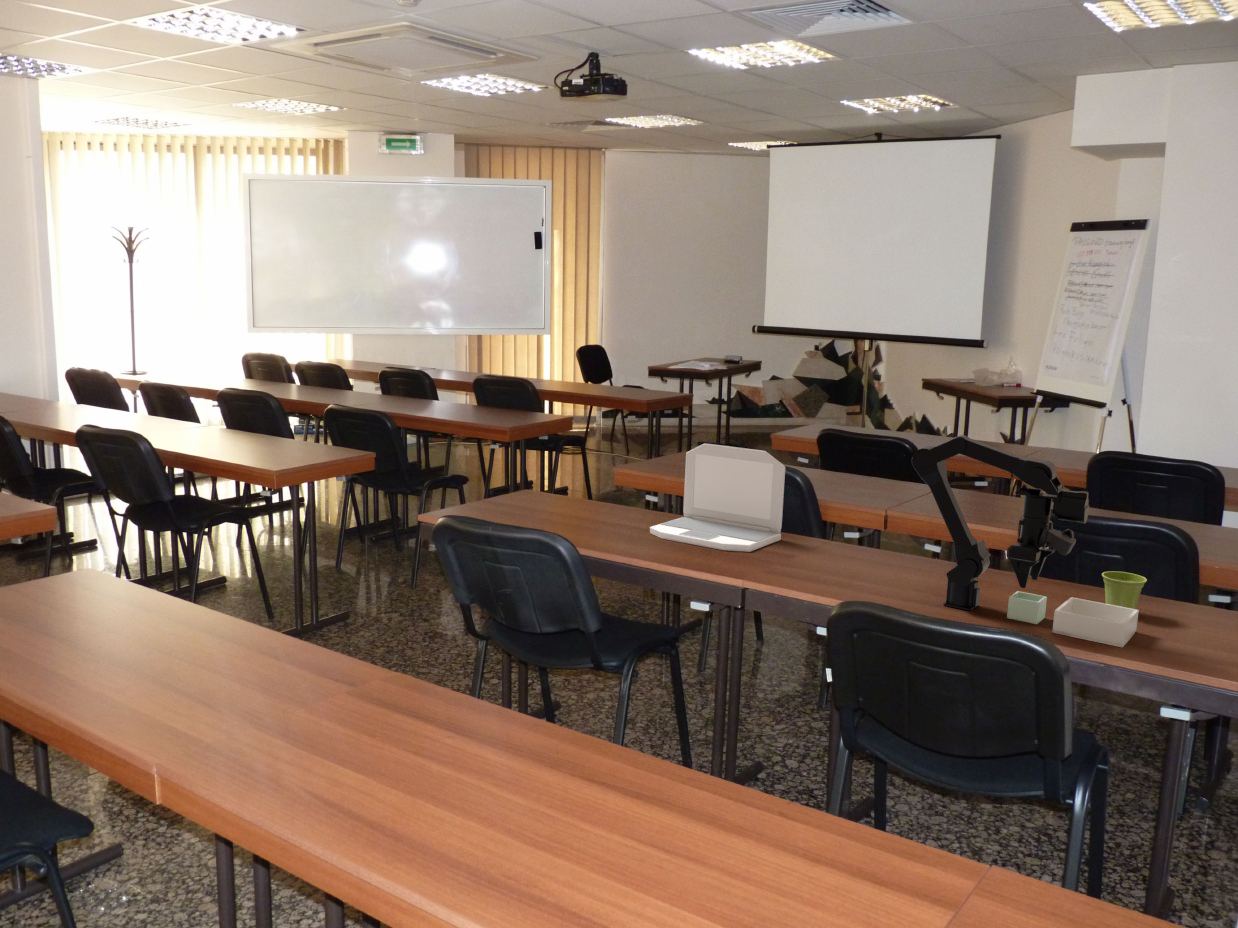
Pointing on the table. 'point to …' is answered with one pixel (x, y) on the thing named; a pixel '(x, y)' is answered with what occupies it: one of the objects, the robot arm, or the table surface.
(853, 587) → the table surface
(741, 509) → the laptop
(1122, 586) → the plant pot
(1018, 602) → the small crate
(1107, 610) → the big crate
